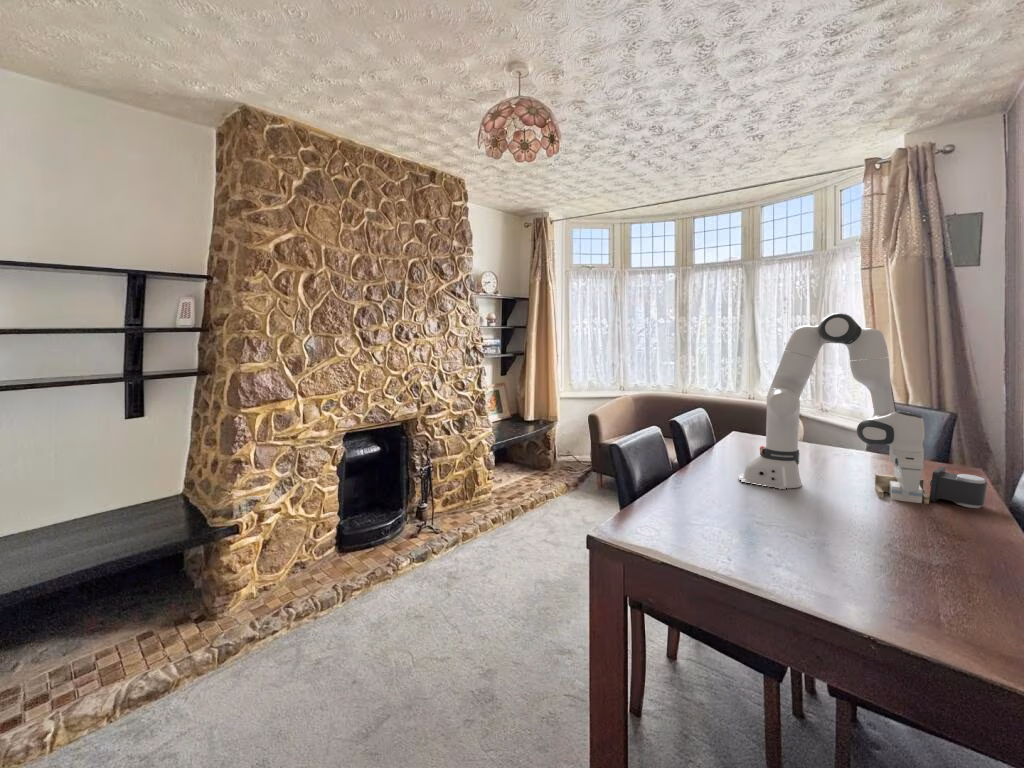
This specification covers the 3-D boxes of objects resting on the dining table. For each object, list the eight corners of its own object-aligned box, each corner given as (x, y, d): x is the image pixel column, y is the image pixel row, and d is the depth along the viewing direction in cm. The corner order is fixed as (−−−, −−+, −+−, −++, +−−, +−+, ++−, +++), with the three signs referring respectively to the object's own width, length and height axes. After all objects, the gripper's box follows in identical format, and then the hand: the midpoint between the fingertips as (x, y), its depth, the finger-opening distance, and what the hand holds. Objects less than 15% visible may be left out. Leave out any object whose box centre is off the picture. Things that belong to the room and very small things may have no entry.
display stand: (878, 498, 161) (879, 481, 160) (874, 489, 170) (875, 474, 169) (928, 504, 154) (929, 487, 153) (921, 494, 163) (922, 478, 162)
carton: (891, 500, 159) (892, 486, 159) (888, 493, 166) (889, 480, 166) (922, 504, 155) (922, 490, 154) (917, 497, 161) (918, 483, 161)
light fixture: (979, 513, 146) (984, 481, 144) (925, 501, 156) (929, 471, 155) (986, 505, 152) (990, 475, 151) (934, 494, 163) (937, 465, 161)
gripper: (889, 450, 165) (887, 486, 166) (899, 463, 148) (897, 504, 149) (912, 451, 161) (910, 489, 163) (925, 466, 144) (923, 507, 146)
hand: (904, 496), depth 156 cm, fingers closed
